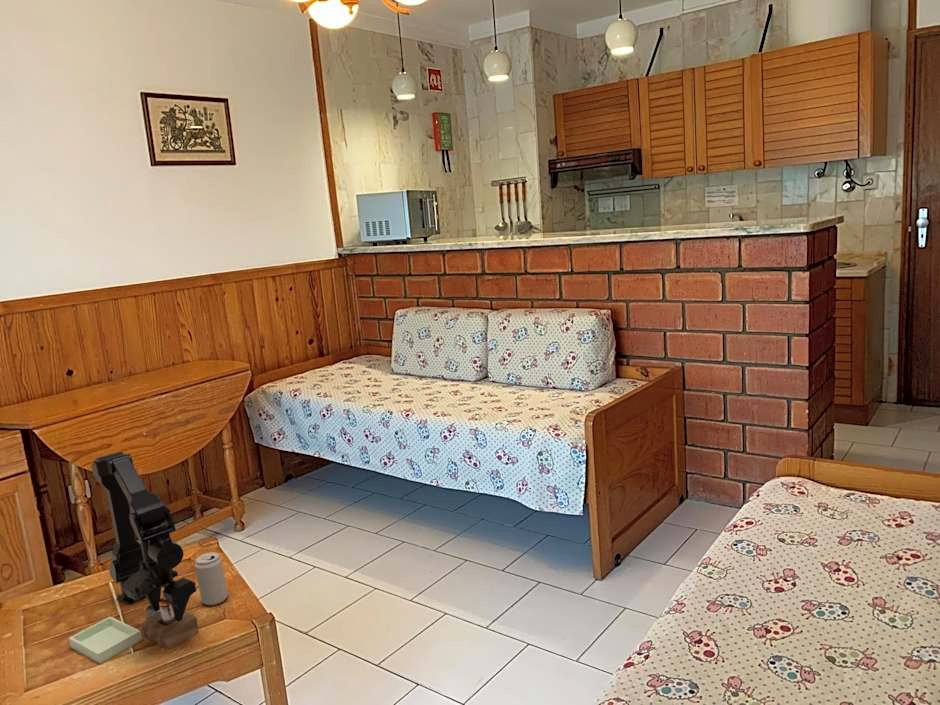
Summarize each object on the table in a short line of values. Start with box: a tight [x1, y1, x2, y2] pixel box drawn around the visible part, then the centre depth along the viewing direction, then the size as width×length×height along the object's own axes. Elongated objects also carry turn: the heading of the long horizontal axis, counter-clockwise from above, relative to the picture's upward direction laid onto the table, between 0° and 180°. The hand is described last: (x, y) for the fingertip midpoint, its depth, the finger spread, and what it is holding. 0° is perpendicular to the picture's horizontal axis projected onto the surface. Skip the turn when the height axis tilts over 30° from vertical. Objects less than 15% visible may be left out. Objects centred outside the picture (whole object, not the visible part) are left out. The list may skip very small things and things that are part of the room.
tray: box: [68, 616, 143, 665], centre depth 175 cm, size 13×10×2 cm
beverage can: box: [194, 551, 228, 606], centre depth 189 cm, size 6×6×12 cm
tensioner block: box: [141, 611, 200, 650], centre depth 176 cm, size 10×8×4 cm
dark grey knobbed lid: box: [145, 604, 161, 620], centre depth 185 cm, size 7×7×3 cm
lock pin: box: [159, 597, 176, 626], centre depth 175 cm, size 3×3×9 cm
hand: (168, 615), depth 175 cm, fingers open, 9 cm apart
